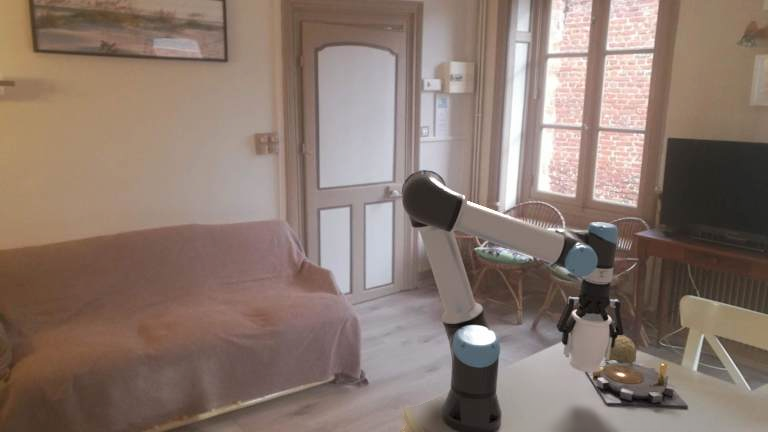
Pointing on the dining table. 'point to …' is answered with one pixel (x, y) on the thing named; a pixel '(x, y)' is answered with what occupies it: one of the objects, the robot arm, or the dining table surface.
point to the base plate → (615, 399)
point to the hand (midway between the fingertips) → (586, 356)
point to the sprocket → (634, 381)
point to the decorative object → (623, 350)
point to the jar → (589, 341)
